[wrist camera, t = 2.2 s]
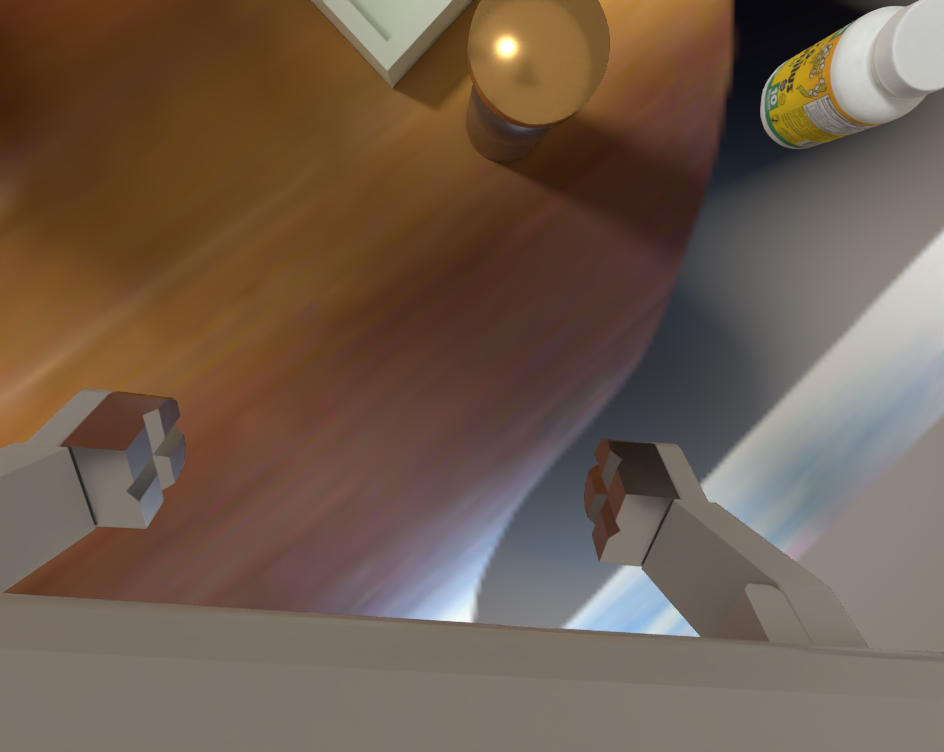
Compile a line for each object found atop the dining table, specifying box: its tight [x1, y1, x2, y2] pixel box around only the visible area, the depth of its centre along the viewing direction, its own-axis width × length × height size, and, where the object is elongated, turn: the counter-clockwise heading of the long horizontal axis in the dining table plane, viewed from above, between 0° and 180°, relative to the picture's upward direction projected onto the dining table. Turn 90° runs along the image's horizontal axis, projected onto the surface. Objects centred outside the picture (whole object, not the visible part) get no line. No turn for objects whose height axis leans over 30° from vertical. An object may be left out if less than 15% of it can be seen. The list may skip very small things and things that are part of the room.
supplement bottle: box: [760, 0, 944, 149], centre depth 29 cm, size 5×5×10 cm
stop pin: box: [466, 0, 610, 163], centre depth 27 cm, size 6×6×12 cm
